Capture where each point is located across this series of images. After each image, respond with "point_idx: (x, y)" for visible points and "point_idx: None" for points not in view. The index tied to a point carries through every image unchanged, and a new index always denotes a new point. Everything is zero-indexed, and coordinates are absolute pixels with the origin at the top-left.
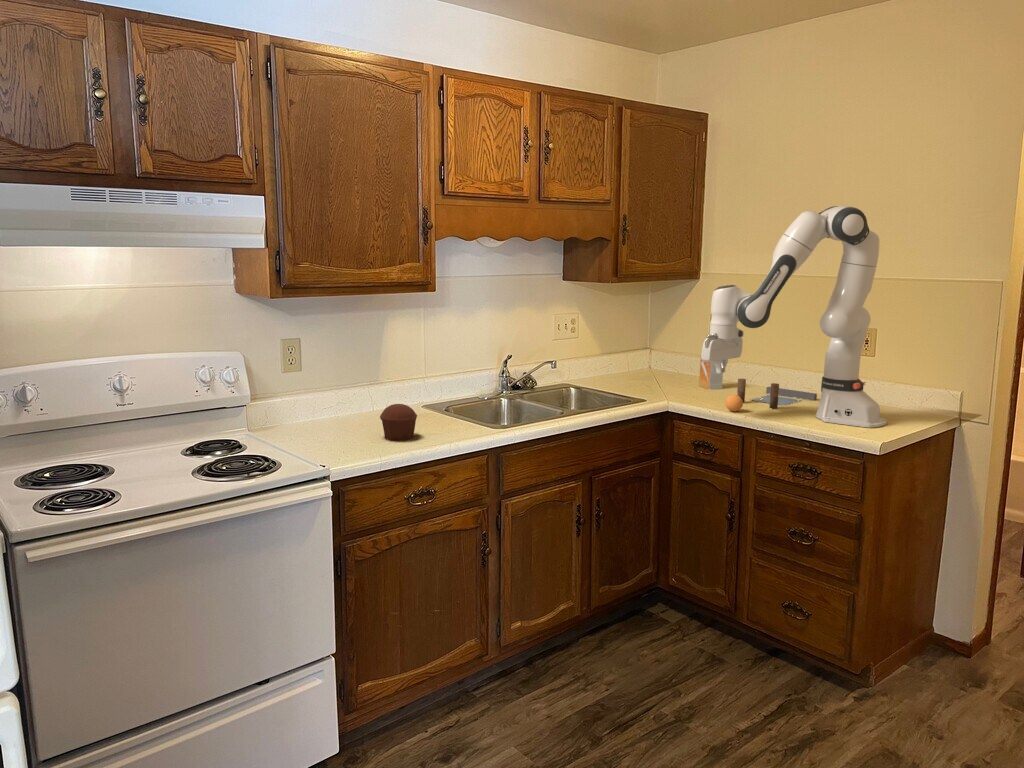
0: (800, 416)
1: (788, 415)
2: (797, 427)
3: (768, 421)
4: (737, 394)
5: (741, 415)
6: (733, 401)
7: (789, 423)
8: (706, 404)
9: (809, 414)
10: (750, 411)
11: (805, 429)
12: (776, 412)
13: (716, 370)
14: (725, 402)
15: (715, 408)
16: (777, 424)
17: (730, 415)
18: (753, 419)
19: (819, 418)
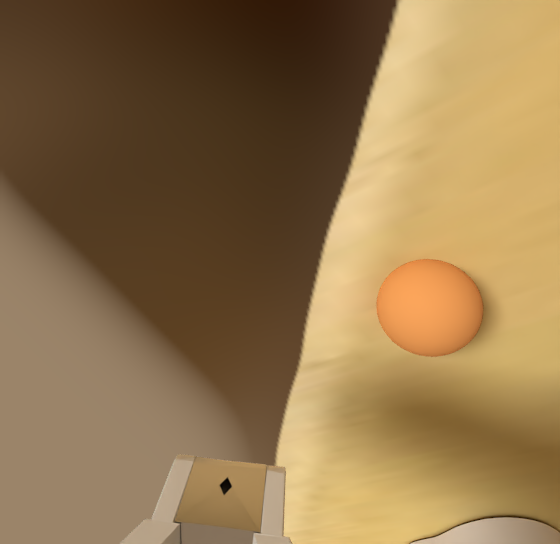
0: (462, 486)
1: (457, 458)
2: None
3: (304, 440)
4: None
5: (343, 342)
6: (387, 327)
7: (321, 488)
8: (538, 74)
9: (518, 497)
10: None
11: None
12: (494, 417)
13: (169, 477)
14: (410, 268)
15: (436, 182)
16: None
17: (311, 309)
18: (300, 397)
19: (446, 533)
